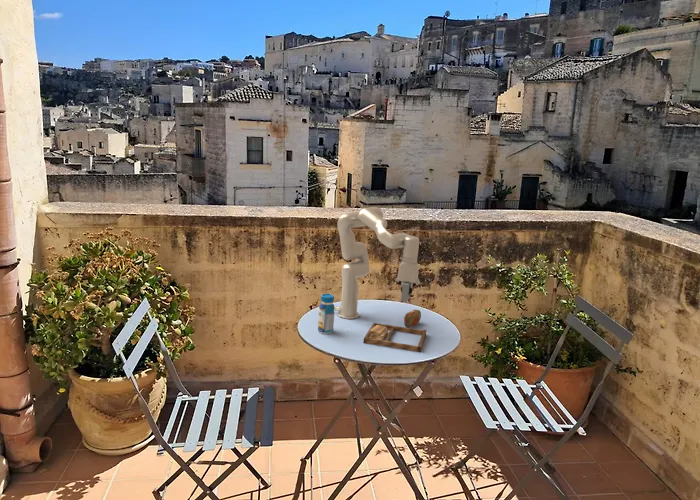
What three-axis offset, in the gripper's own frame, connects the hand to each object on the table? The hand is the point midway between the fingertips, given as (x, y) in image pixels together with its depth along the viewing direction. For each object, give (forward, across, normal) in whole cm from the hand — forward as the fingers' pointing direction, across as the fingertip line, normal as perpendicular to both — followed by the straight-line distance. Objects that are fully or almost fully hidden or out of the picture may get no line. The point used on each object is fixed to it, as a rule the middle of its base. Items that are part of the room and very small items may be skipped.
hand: (406, 293), depth 282 cm
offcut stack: (+24, -12, -5) cm, 28 cm away
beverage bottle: (+24, -39, -10) cm, 48 cm away
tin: (+24, +2, +19) cm, 31 cm away
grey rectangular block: (+2, 0, 0) cm, 2 cm away
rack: (+24, -2, -5) cm, 24 cm away
